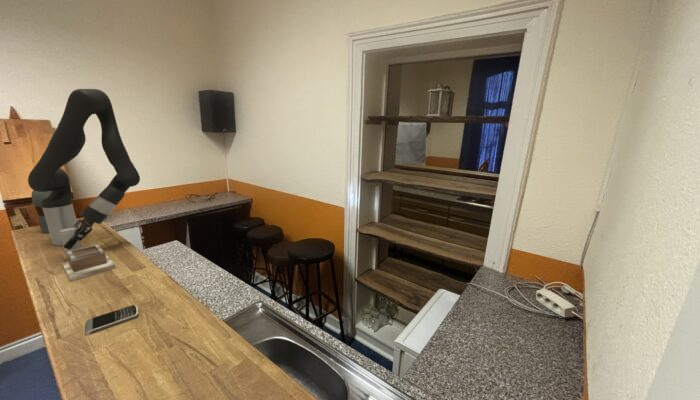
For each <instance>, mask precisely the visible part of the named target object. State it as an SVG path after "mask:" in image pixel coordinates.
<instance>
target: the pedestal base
mask: <svg viewBox="0 0 700 400" xmlns="http://www.w3.org/2000/svg"><path fill="white" fill-rule="evenodd" d="M67 253H68V255H67V257H68V259H67V262H62V267H63V269H64V272H65V273H66V276H67V278H68V279H69V281H70V282H74V281H76V280H77V281H78V280H81V279H85V278H87V277H90V276H93V275H97V274H100V273H104V272H107V271H110V270H111V271H112V270H113V269H116V264H115V263H114V262H113V261H112V260H111V258H110V257H109V256H108V255H107V254H106V252H105V251H104V249H103V247H102V248H101V246H100V245H99V244H98V243H97V244H93V245H89V246H84V247H82V248H80V249H76V250H72V251H68V252H67ZM67 257H66V258H67Z"/></svg>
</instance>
